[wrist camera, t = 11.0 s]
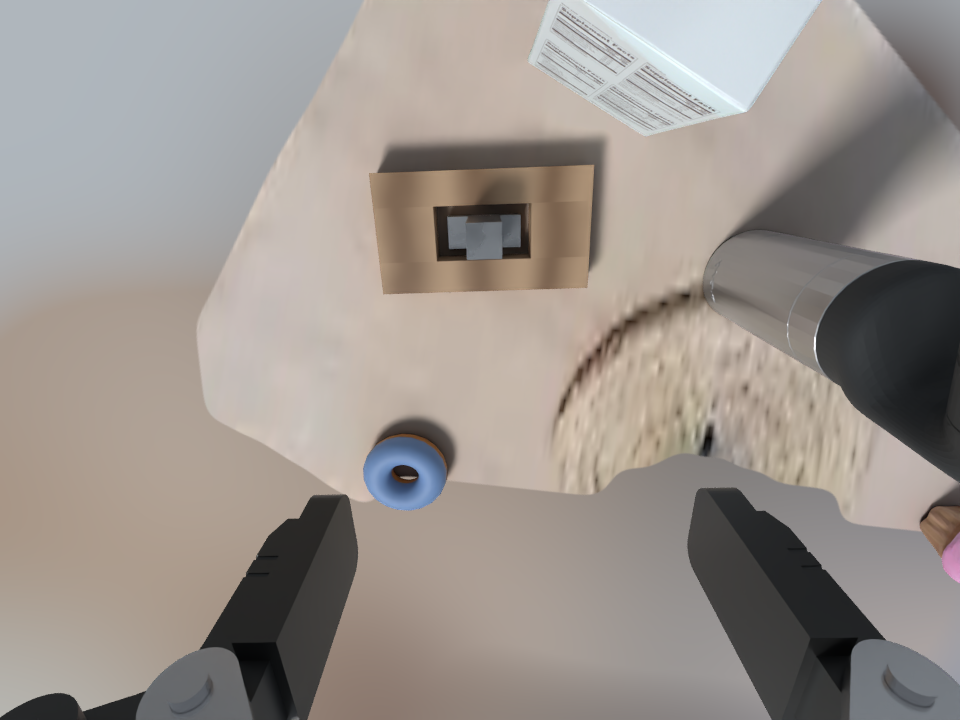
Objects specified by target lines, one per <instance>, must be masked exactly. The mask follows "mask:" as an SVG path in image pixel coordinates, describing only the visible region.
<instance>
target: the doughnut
mask: <svg viewBox="0 0 960 720" xmlns="http://www.w3.org/2000/svg"><path fill="white" fill-rule="evenodd" d="M398 465H407V466H410V467H412V468H414V469H415V470H416V471H417V472H418V474H419V476H418V477H417V478H415V479H411V480H407V479H402V478H400V477H398V476H397V475H396V474H395V473H394V471H393V468H394V467H395V466H398ZM363 471H364V481H365V483H366V486H367V488H368V490H369V492H370V493H371V494H372V495H373V497H374V498H375V499H376V500H378V501H379V502H381V503H382V504H384V505H385V506H388V507H391V508H394V509H397V510H415V509H420V508H423V507H424V506H426V505H428V504H430V503H432V502H433V501H434V500H435V499H436V498H437V497H438V496H439V495H440V494H441V492H442V490H443V487H444V485H445V483H446V480H447V465H446V462H445V459H444V456H443V454H442V453H441V452H440V451H439V449H438V448H437V447H436V446H435V445H434V444H433V443H431V442H430V441H428V440H427V439H425V438H422V437H419V436H416V435H412V434H399V435H394V436H390V437H387V438H386V439H384V440H382V441H380V442H379V443H377V445H376V446H375V447H374V448H373V449H372V450H371V452H370V453H369V454H368V456H367V458H366V461H365V464H364V468H363Z"/></svg>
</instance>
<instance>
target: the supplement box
mask: <svg viewBox="0 0 960 720" xmlns="http://www.w3.org/2000/svg"><path fill="white" fill-rule="evenodd" d="M821 1H822V0H549V1H548V4H547V7H546V10H545V13H544V16H543V18H542V21H541V24H540V27H539V30H538V33H537V36H536V38H535V41H534V44H533V47H532V49H531V52H530V54H529V57H528V62H529V63H530V64H531V65H533V66H535V67H536V68H538V69H539V70H541V71H542V72H544V73H546V74H547V75H549V76H550V77H552V78H553V79H555V80H556V81H558V82H560V83H561V84H563V85H564V86H566V87H567V88H569V89H570V90H572V91H574V92H575V93H577V94H578V95H580V96H581V97H583V98H585V99H586V100H588V101H589V102H591V103H592V104H594V105H595V106H597V107H599V108H600V109H602V110H603V111H605V112H606V113H608V114H610V115H611V116H613V117H614V118H616V119H618V120H619V121H621V122H622V123H624V124H625V125H627V126H629V127H630V128H632V129H633V130H635V131H637V132H638V133H640V134H642V135H643V136H645V137H646V136H649V135H652V134H656V133H660V132H664V131H668V130H672V129H676V128H680V127H684V126H688V125H692V124H696V123H700V122H704V121H708V120H712V119H716V118H721V117H725V116H730V115H735V114H740V113H744V112H747V111H748V110H749V109H750V108H751V107H752V105H753V104H754V102H755V101H756V99H757V98H758V96H759V95H760V93H761V92H762V90H763V89H764V87H765V85H766V84H767V82H768V81H769V79H770V78H771V76H772V75H773V73H774V72H775V70H776V69H777V67H778V66H779V64H780V63H781V61H782V60H783V58H784V57H785V55H786V54H787V52H788V51H789V49H790V48H791V46H792V45H793V43H794V42H795V40H796V39H797V37H798V35H799V34H800V32H801V31H802V29H803V28H804V26H805V25H806V23H807V22H808V20H809V19H810V17H811V16H812V14H813V13H814V11H815V10H816V8H817V7H818V5H819V4H820V3H821Z"/></svg>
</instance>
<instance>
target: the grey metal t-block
mask: <svg viewBox="0 0 960 720" xmlns="http://www.w3.org/2000/svg"><path fill="white" fill-rule="evenodd" d="M447 221H448V239H449V249H467V260H481V259H502V247H521V215H520V214H491V215H459V216H448V217H447Z"/></svg>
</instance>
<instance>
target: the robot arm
mask: <svg viewBox="0 0 960 720" xmlns="http://www.w3.org/2000/svg"><path fill="white" fill-rule="evenodd" d="M703 291H704V296H705V298H706V300H707V302H708V304H709V305H710V306H711V308H712V309H713V310H714V311H716V312H717V313H718V314H720V315H722V316H723V317H725V318H727V319H728V320H730V321H732V322H733V323H735V324H737V325H738V326H740V327H741V328H743V329H745V330H746V331H748V332H750V333H752V334H753V335H755V336H757V337H758V338H760V339H762V340H763V341H765V342H767V343H768V344H770V345H772V346H774V347H775V348H777V349H779V350H780V351H782V352H784V353H785V354H787V355H789V356H790V357H792V358H794V359H796V360H797V361H799V362H801V363H802V364H804V365H806V366H808V367H809V368H811V369H813V370H814V371H816V372H818V373H820V374H821V375H823V376H825V377H826V378H828V379H830V380H831V381H833V382H834V383H836V384H838V385H839V386H841V388H842V390H843V392H844V394H845V395H846V397H847V398H848V400H849V401H850V402H851V404H852V405H853V406H854V407H855V408H856V409H857V410H859V411H860V412H861V413H862V414H864V415H865V416H866V417H868V418H869V419H870V420H872V421H873V422H875V423H876V424H878V425H879V426H880V427H882V428H883V429H885V430H886V431H887V432H889V433H890V434H891V435H893V436H894V437H896V438H897V439H898V440H900V441H901V442H902V443H904V444H905V445H907V446H908V447H909V448H911V449H912V450H913V451H915V452H916V453H918V454H919V455H920V456H922V457H923V458H924V459H926V460H927V461H929V462H930V463H931V464H933V465H934V466H936V467H937V468H939V469H940V470H942V471H943V472H944V473H946V474H947V475H949V476H950V477H952V478H953V479H955V480H956V481H958V482H959V483H960V269H959V268H955V267H951V266H948V265H943V264H938V263H933V262H928V261H923V260H917V259H912V258H907V257H902V256H897V255H892V254H887V253H880V252H875V251H870V250H865V249H860V248H855V247H850V246H844V245H839V244H834V243H829V242H824V241H819V240H814V239H809V238H804V237H798V236H794V235H789V234H784V233H778V232H773V231H768V230H751V231H746V232H742V233H740V234H738V235H736V236H733V237H732V238H730V239H729V240H727V241H726V242H724V243H723V244H722V245H721V246H720V247H719V248H718V249H717V250H716V251H715V253H714V254H713V256H712V257H711V258H710V260H709V262H708V264H707V266H706V269H705V273H704V276H703ZM688 554H689V559H690V563H691V566H692V568H693V570H694V572H695V574H696V576H697V578H698V580H699V582H700V584H701V586H702V588H703V590H704V592H705V593H706V595H707V597H708V599H709V601H710V603H711V605H712V607H713V609H714V611H715V612H716V614H717V616H718V618H719V620H720V622H721V624H722V626H723V628H724V630H725V632H726V633H727V635H728V637H729V639H730V641H731V643H732V645H733V647H734V649H735V650H736V652H737V654H738V656H739V658H740V660H741V662H742V664H743V666H744V668H745V670H746V671H747V673H748V675H749V677H750V679H751V681H752V683H753V685H754V687H755V689H756V691H757V692H758V694H759V696H760V698H761V700H762V702H763V704H764V706H765V708H766V710H767V711H768V713H769V715H770V717H771V719H772V720H960V685H959V684H958V683H957V682H956V681H955V680H954V679H953V678H952V677H951V676H950V675H949V674H948V673H947V672H945V671H944V670H943V669H942V668H940V667H939V666H938V665H936V664H935V663H933V662H932V661H931V660H929V659H928V658H926V657H924V656H923V655H921V654H919V653H918V652H916V651H913V650H911V649H909V648H907V647H905V646H902V645H900V644H897V643H893V642H890V641H886V640H885V638H883V636H882V635H881V634H880V633H879V632H878V630H877V629H876V628H875V627H874V626H873V625H872V624H871V622H870V621H869V620H868V619H867V618H866V616H865V615H864V614H863V613H862V612H861V611H860V610H859V608H858V607H857V606H856V605H855V604H854V603H853V601H852V600H851V599H850V598H849V597H848V596H847V594H846V593H845V592H844V591H843V590H842V589H841V587H839V585H838V584H837V583H836V582H835V581H834V579H833V578H832V577H831V576H830V575H829V574H828V572H827V571H826V570H823V569H822V567H821V564H820V563H819V562H818V561H817V560H816V558H815V557H814V556H813V555H812V554H811V553H810V552H807V548H806V547H805V546H804V544H803V543H802V542H801V541H800V540H799V539H798V538H797V536H796V535H795V534H794V533H793V532H792V531H791V529H790V528H789V527H787V526H786V525H784V524H783V523H781V522H780V521H779V520H777V519H776V518H774V517H773V516H772V515H770V514H769V513H767V512H766V511H756V510H755V509H754V507H753V506H752V505H751V504H750V502H749V501H748V500H747V499H746V497H745V496H744V495H743V494H742V492H741V491H739V490H738V489H737V488H701V489H699V490H698V491H697V493H696V497H695V503H694V508H693V513H692V519H691V525H690V530H689V536H688ZM357 560H358V546H357V539H356V534H355V528H354V523H353V518H352V511H351V506H350V501H349V498H348V496H347V495H314V496H312V497H311V498H310V500H309V501H308V503H307V505H306V507H305V509H304V510H303V512H302V514H301V516H300V518H299V519H287V520H286V521H285V522H284V523H283V524H282V525H280V526H279V527H278V528H277V529H276V530H275V531H274V532H272V533H271V534H270V535H269V536H268V538H267V539H266V541H265V543H264V545H263V546H262V548H261V549H260V551H259V553H258V554H257V556H256V560H254V561H253V562H252V564H251V566H250V567H249V569H248V571H247V572H246V577H244V578H243V579H242V581H241V582H240V584H239V586H238V587H237V589H236V591H235V592H234V594H233V596H232V597H231V599H230V601H229V602H228V604H227V606H226V607H225V609H224V611H223V612H222V614H221V616H220V617H219V619H218V620H217V622H216V624H215V625H214V627H213V629H212V630H211V632H210V634H209V635H208V637H207V639H206V641H205V642H204V644H203V645H202V647H201V648H200V650H198V651H195V652H192V653H190V654H188V655H186V656H184V657H183V658H181V659H179V660H177V661H176V662H174V663H173V664H172V665H170V666H169V667H168V668H167V669H165V670H164V671H163V672H162V673H161V674H160V675H159V676H158V677H157V678H156V679H155V680H154V681H153V683H152V684H151V685H150V686H149V688H148V689H147V691H145V692H142V693H139V694H137V695H134V696H131V697H127V698H124V699H121V700H118V701H115V702H111V703H108V704H105V705H102V706H99V707H96V708H93V709H90V710H86V711H82V710H81V708H80V706H79V705H78V703H77V701H76V700H75V699H74V698H73V697H71V696H70V695H67V694H63V693H54V694H48V695H45V696H41V697H37V698H35V699H32V700H30V701H28V702H26V703H24V704H22V705H20V706H18V707H16V708H14V709H13V710H11V711H9V712H8V713H6V714H5V715H3V716H2V717H0V720H307V719H308V716H309V712H310V709H311V706H312V703H313V700H314V697H315V694H316V691H317V688H318V685H319V682H320V679H321V676H322V673H323V670H324V667H325V664H326V661H327V658H328V655H329V652H330V648H331V646H332V643H333V639H334V636H335V633H336V630H337V627H338V624H339V621H340V618H341V615H342V612H343V609H344V606H345V603H346V600H347V597H348V594H349V591H350V588H351V585H352V582H353V578H354V575H355V572H356V567H357Z"/></svg>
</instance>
